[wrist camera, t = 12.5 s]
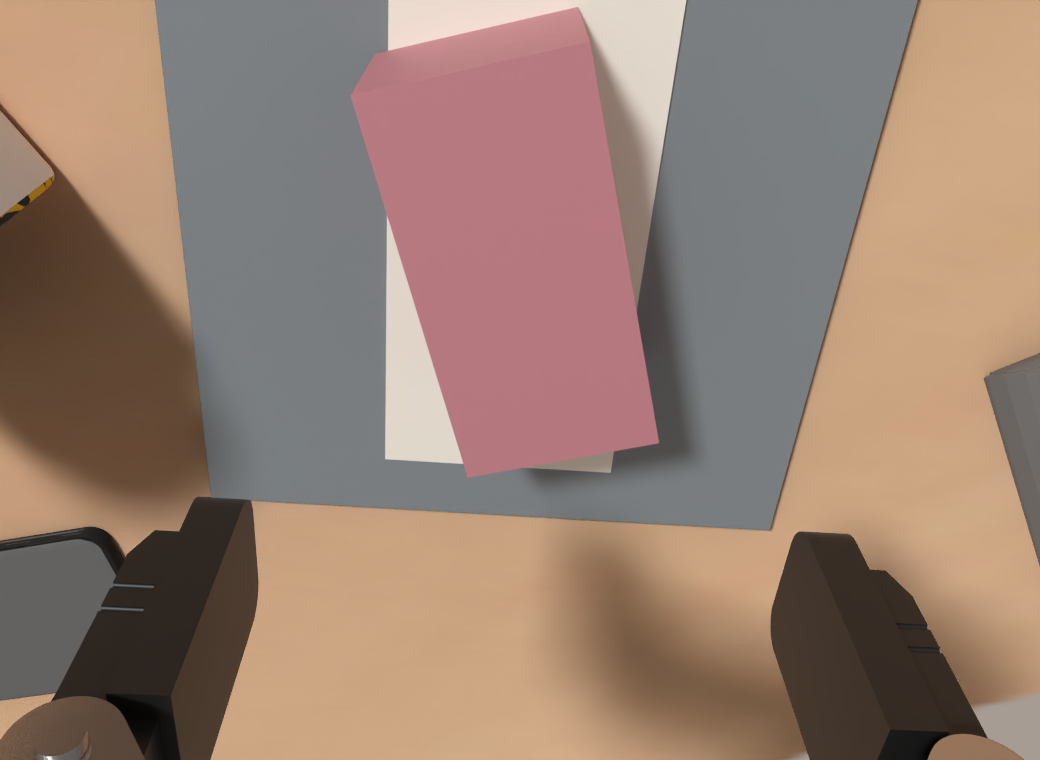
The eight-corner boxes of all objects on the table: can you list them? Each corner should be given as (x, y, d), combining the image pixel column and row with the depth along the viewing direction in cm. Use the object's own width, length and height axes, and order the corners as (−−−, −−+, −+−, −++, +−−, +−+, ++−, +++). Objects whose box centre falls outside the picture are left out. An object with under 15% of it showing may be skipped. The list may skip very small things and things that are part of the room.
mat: (214, 490, 30) (210, 500, 30) (131, -262, 20) (123, -263, 19) (766, 522, 31) (770, 532, 30) (961, -183, 21) (971, -183, 20)
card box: (374, 53, 23) (350, 95, 19) (577, 6, 22) (590, 41, 19) (473, 396, 28) (467, 477, 24) (640, 364, 27) (659, 443, 24)
